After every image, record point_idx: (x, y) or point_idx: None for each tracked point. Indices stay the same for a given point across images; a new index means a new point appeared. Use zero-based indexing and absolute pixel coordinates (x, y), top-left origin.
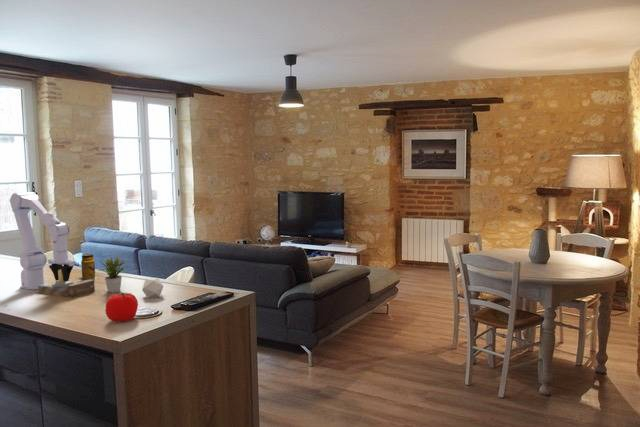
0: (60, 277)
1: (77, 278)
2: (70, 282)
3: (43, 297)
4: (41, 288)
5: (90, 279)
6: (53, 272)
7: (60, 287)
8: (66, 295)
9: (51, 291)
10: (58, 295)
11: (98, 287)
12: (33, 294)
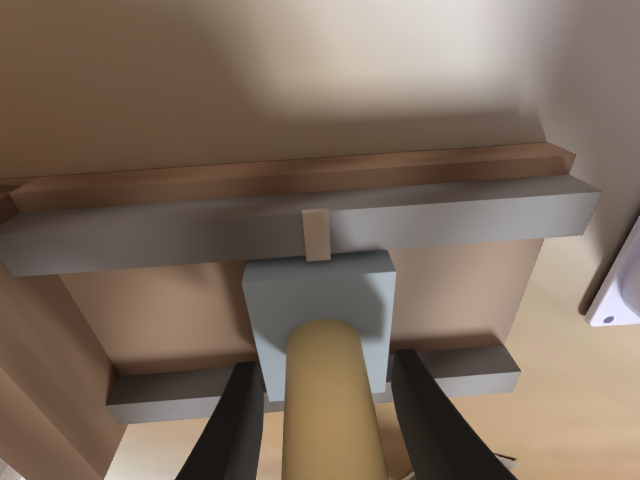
0: (307, 401)
1: (507, 462)
2: (271, 388)
3: (261, 8)
4: (514, 182)
5: (414, 476)
6: (474, 463)
7: (210, 257)
8: (39, 181)
9: (301, 172)
10: (187, 167)
11: (187, 427)
12: (528, 55)
